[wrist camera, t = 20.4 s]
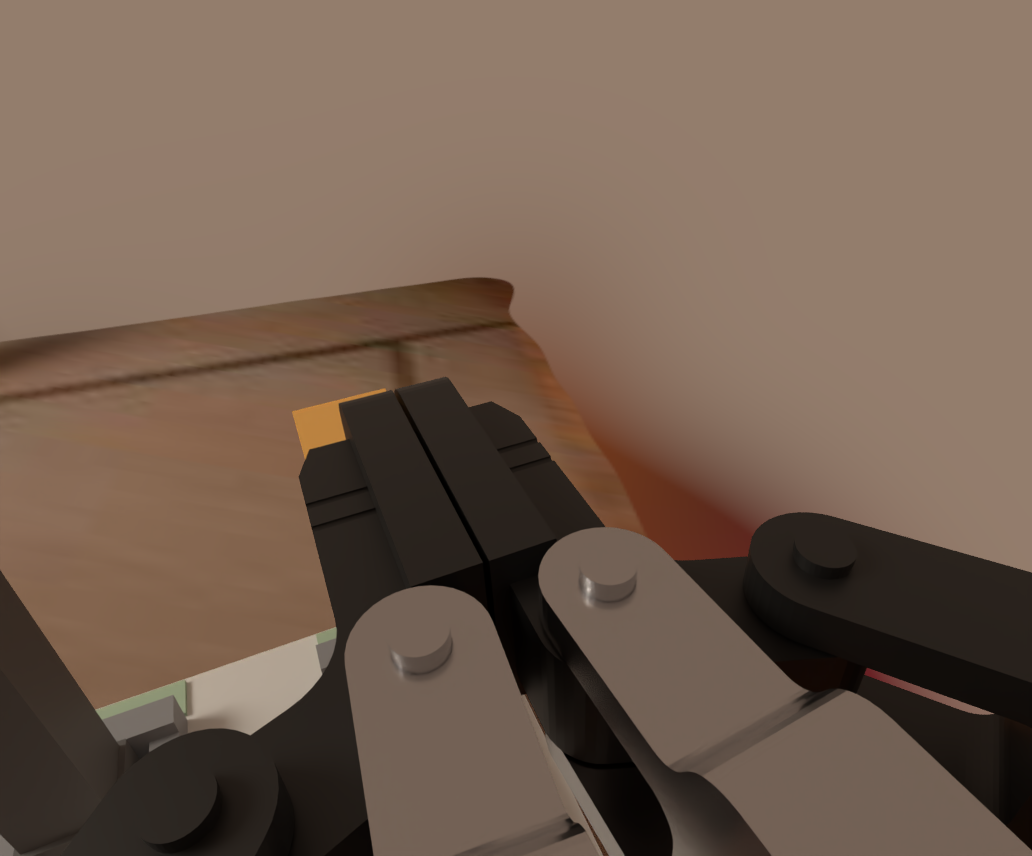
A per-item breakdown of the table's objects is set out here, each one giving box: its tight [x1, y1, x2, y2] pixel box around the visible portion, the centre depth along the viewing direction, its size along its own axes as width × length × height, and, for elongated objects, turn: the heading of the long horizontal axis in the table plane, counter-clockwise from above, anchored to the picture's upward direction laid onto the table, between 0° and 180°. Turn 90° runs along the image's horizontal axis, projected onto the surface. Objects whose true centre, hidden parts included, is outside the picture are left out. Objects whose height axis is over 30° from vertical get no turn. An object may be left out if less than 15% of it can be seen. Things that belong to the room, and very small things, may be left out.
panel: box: [0, 571, 603, 856], centre depth 17 cm, size 22×19×15 cm
